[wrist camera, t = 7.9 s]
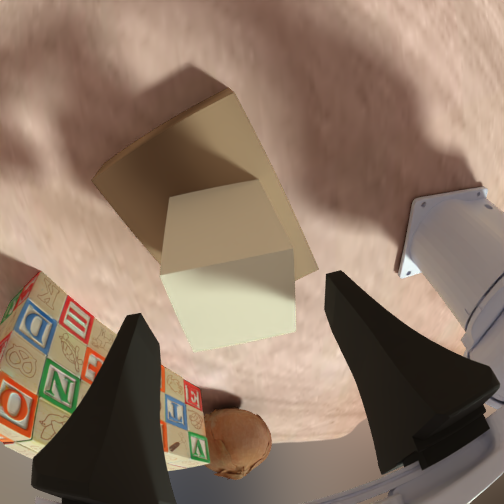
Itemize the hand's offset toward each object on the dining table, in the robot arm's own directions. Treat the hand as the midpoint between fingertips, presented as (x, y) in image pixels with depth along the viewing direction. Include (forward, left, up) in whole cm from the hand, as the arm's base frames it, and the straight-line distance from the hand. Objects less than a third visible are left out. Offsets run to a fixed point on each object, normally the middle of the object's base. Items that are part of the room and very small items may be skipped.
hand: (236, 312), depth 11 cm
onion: (+5, +28, -9) cm, 30 cm away
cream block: (0, 0, -6) cm, 6 cm away
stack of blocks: (+13, +12, -9) cm, 20 cm away
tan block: (0, 0, -9) cm, 9 cm away
